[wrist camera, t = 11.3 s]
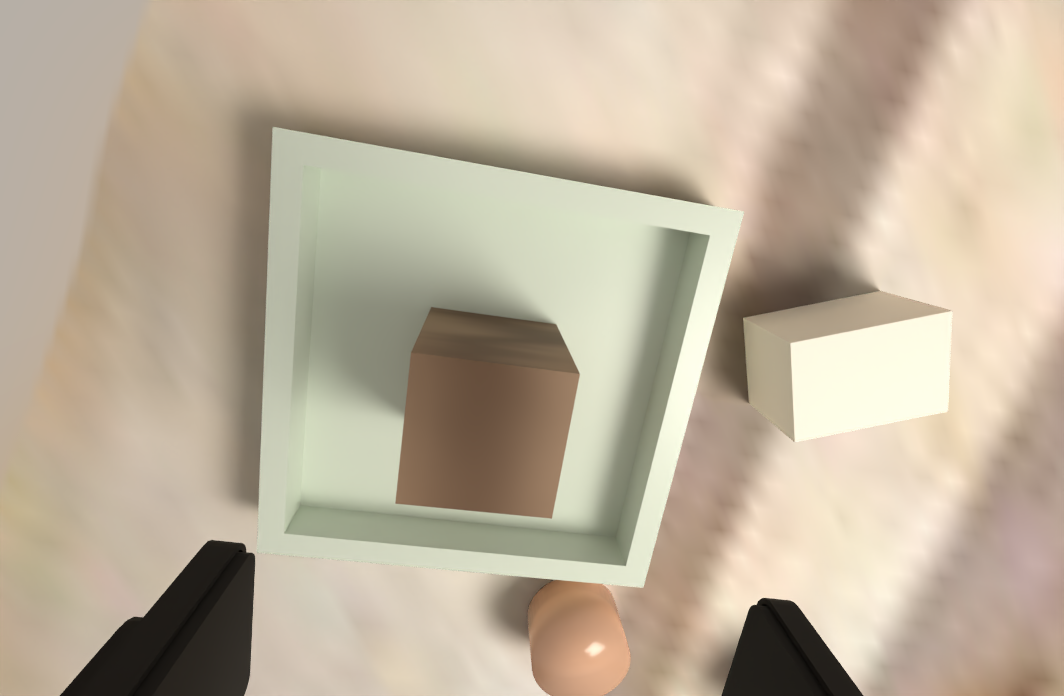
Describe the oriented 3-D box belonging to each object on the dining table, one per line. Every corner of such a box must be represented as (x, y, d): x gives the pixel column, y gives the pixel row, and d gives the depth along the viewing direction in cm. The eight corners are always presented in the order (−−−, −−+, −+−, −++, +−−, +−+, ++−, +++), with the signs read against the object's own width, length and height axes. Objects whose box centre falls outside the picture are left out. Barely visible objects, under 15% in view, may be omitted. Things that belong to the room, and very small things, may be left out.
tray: (715, 208, 22) (744, 211, 20) (628, 549, 26) (643, 587, 24) (299, 133, 20) (272, 126, 18) (280, 514, 24) (256, 552, 22)
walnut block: (556, 324, 22) (579, 374, 17) (536, 436, 24) (552, 518, 18) (431, 307, 22) (410, 352, 16) (418, 423, 23) (395, 503, 17)
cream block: (877, 290, 24) (952, 310, 20) (877, 376, 25) (947, 411, 21) (741, 317, 24) (790, 343, 20) (747, 402, 25) (794, 442, 21)
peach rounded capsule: (623, 579, 27) (639, 626, 24) (605, 650, 28) (619, 704, 25) (535, 571, 26) (540, 618, 24) (520, 645, 28) (524, 698, 25)
